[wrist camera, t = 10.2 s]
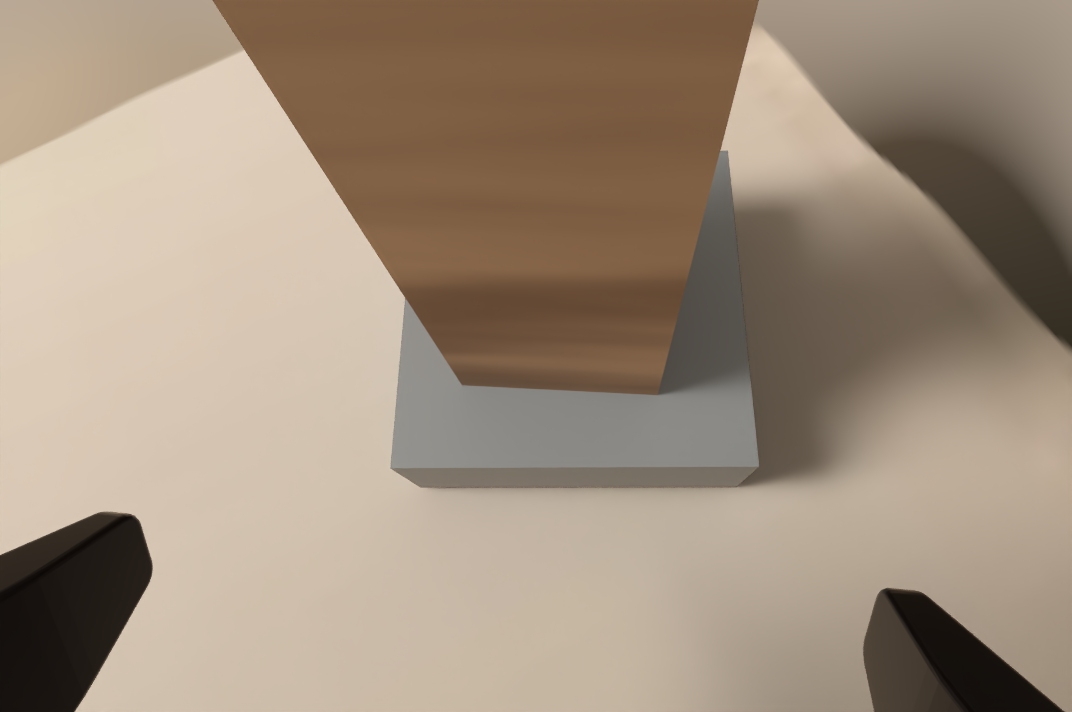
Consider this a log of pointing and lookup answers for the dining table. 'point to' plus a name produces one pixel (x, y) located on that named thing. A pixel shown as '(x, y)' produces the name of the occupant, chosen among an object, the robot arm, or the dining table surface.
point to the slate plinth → (597, 401)
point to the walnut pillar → (517, 164)
